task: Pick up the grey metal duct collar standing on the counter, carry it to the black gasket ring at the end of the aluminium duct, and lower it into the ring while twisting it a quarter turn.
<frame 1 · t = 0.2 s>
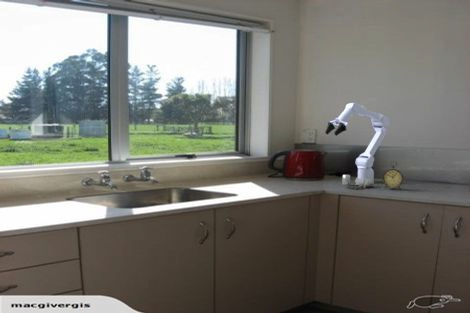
hand: (330, 133, 244), 31 cm above the worktop, tool tilted 45°, fingers open, 7 cm apart
duct socket: (353, 188, 237), on the worktop
alarm clock: (392, 189, 235), on the worktop
collar: (345, 184, 249), on the worktop
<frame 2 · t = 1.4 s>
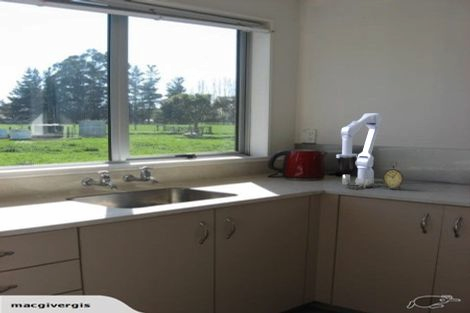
hand: (346, 169, 248), 9 cm above the worktop, tool pointing down, fingers open, 7 cm apart
nothing on the worktop moved.
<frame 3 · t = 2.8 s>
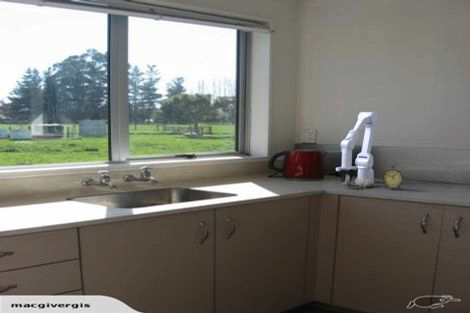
hand: (346, 182, 249), 2 cm above the worktop, tool pointing down, fingers closed on collar, 4 cm apart
collar: (345, 184, 249), on the worktop, touching gripper
everything else where it was.
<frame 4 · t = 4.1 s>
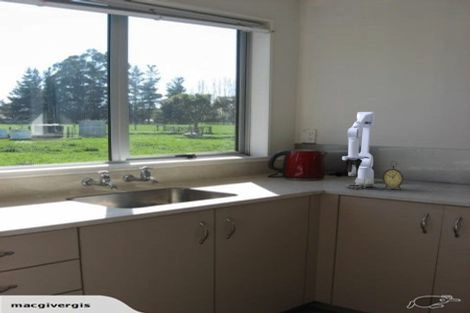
hand: (352, 172, 239), 9 cm above the worktop, tool pointing down, fingers closed on collar, 4 cm apart
collar: (352, 175, 239), point 7 cm above the worktop, touching gripper
everything else where it was.
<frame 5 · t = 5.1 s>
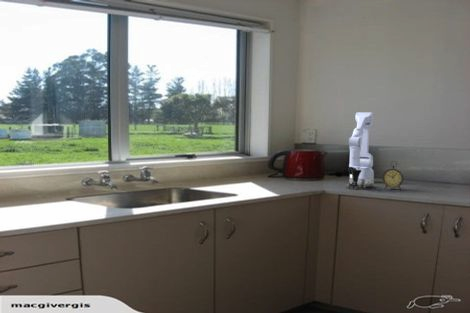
hand: (354, 181, 237), 4 cm above the worktop, tool pointing down, fingers closed on collar, 4 cm apart
collar: (353, 184, 237), point 2 cm above the worktop, touching gripper
everything else where it was.
when the fingers open (3 cm above the worktop, at t = 5.8 s): collar stays where it is, resting in duct socket.
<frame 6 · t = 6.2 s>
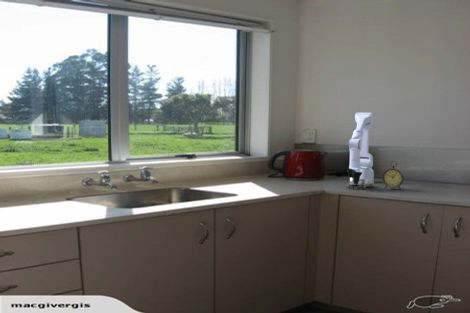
hand: (353, 182, 237), 3 cm above the worktop, tool pointing down, fingers open, 7 cm apart
collar: (353, 188, 237), resting in duct socket
everything else where it was.
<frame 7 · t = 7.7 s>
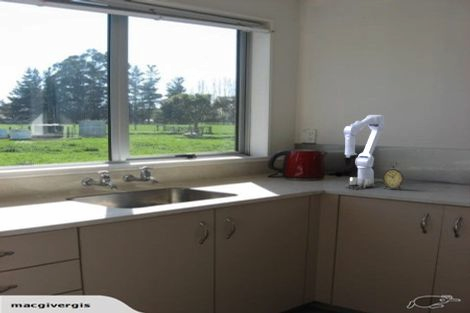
hand: (349, 168, 250), 10 cm above the worktop, tool pointing down, fingers open, 7 cm apart
nothing on the worktop moved.
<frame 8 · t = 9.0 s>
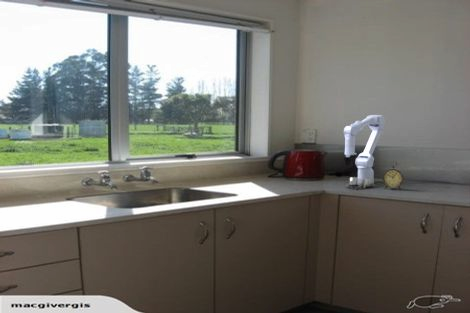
hand: (349, 168, 250), 10 cm above the worktop, tool pointing down, fingers open, 7 cm apart
nothing on the worktop moved.
at the end: collar 0.3 cm from the duct socket (horizontally); collar resting in duct socket; collar tilted 0° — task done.
